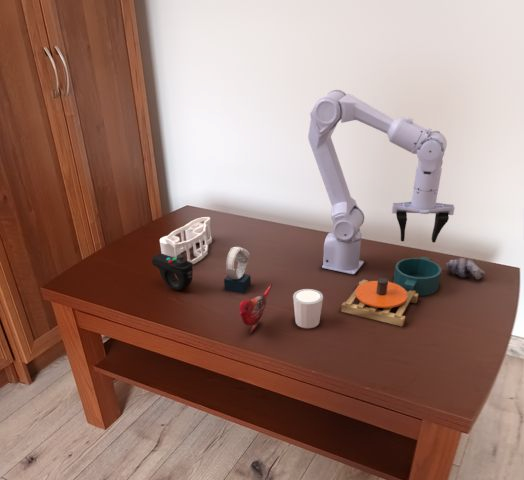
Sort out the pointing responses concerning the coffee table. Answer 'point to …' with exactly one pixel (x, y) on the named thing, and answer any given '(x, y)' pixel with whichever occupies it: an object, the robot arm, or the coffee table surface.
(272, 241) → the coffee table surface
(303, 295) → the white cup
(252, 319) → the decorative bird figurine
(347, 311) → the rack
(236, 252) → the watch
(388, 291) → the lid
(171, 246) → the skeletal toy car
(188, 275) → the controller
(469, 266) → the seashell
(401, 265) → the pot
